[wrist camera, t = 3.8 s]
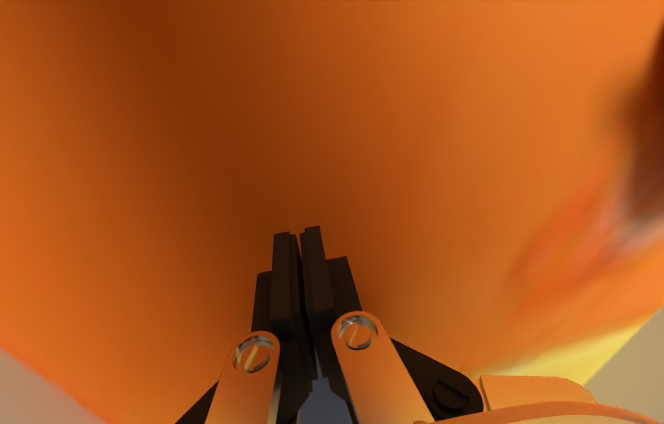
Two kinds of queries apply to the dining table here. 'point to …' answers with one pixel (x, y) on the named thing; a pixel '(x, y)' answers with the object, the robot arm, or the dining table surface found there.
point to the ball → (324, 404)
